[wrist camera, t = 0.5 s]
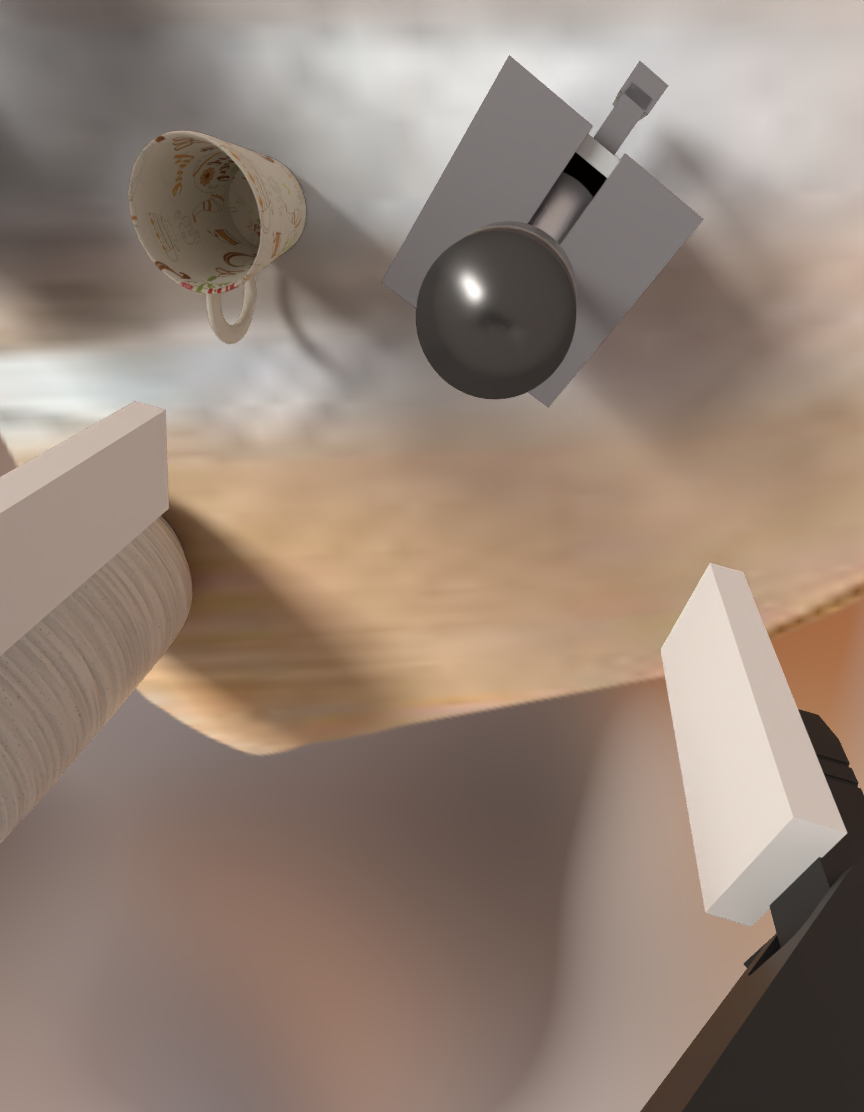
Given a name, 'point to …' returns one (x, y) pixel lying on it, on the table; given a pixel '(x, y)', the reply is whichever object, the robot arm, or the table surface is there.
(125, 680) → the vase
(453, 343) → the plunger
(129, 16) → the table surface
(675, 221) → the grey french press
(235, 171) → the mug
